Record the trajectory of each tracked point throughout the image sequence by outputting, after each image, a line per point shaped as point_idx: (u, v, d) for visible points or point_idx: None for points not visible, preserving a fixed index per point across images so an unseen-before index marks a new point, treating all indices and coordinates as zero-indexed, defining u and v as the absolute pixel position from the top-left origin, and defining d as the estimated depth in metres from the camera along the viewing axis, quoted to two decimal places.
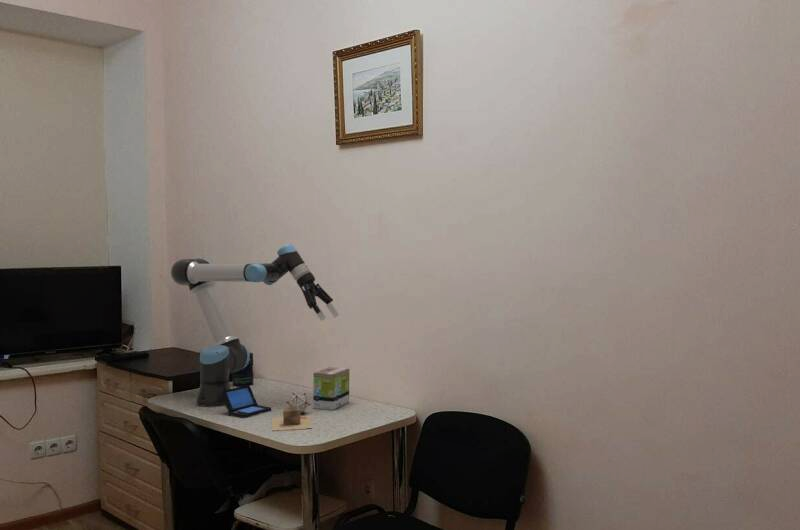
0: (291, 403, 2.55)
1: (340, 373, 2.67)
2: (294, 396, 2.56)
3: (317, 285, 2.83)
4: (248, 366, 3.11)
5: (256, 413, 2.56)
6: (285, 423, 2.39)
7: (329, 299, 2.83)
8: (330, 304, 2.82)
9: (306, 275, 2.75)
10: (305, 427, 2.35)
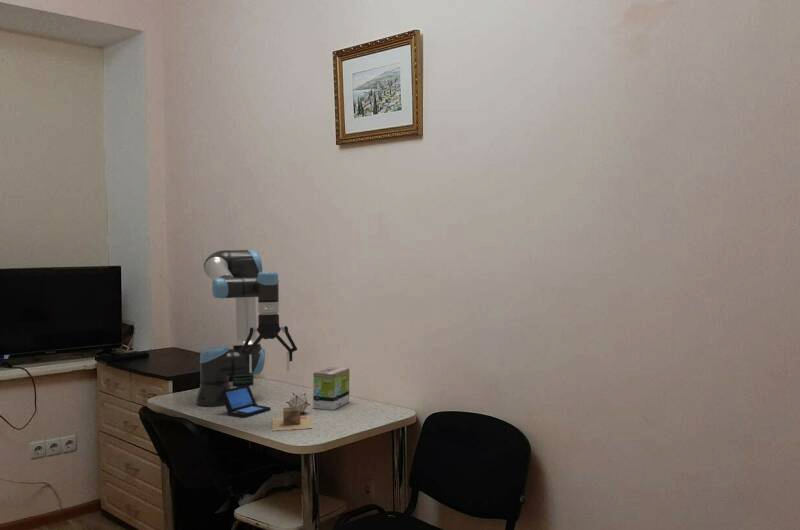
0: (291, 403, 2.55)
1: (340, 373, 2.67)
2: (294, 396, 2.56)
3: (284, 328, 2.42)
4: None
5: (255, 413, 2.56)
6: (285, 423, 2.39)
7: (288, 349, 2.42)
8: (287, 355, 2.42)
9: (261, 318, 2.38)
10: (305, 427, 2.35)
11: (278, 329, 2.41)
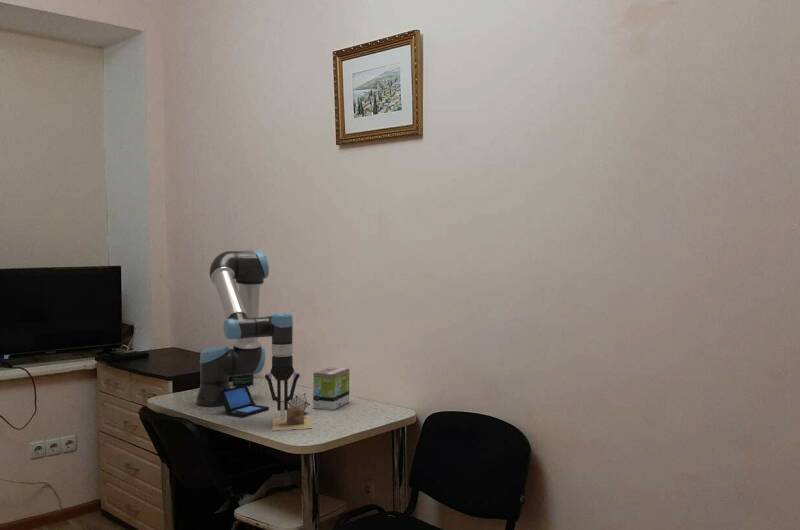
0: (291, 403, 2.55)
1: (340, 373, 2.67)
2: (294, 396, 2.56)
3: (296, 374, 2.41)
4: None
5: (254, 413, 2.57)
6: (289, 423, 2.39)
7: (285, 397, 2.40)
8: None
9: (274, 360, 2.38)
10: (305, 427, 2.35)
11: (291, 371, 2.41)
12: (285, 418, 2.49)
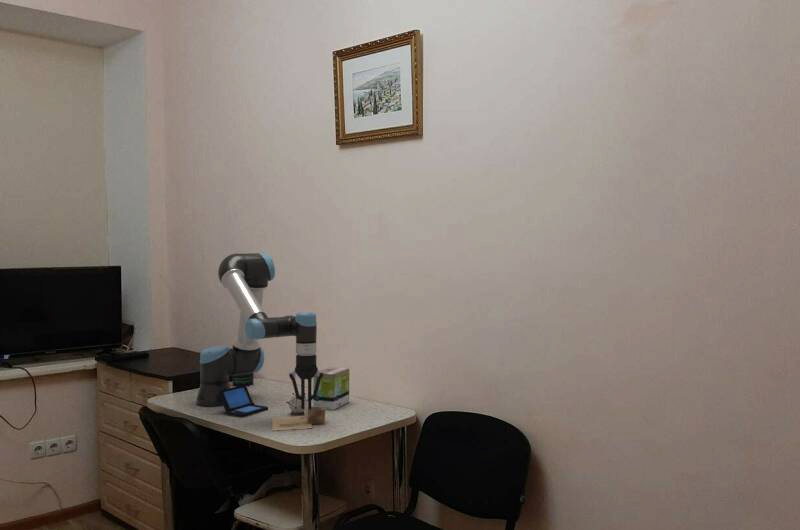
0: (291, 403, 2.55)
1: (340, 373, 2.67)
2: (294, 396, 2.56)
3: (320, 373, 2.43)
4: None
5: (254, 412, 2.57)
6: (310, 422, 2.40)
7: (309, 396, 2.42)
8: None
9: (299, 359, 2.40)
10: (305, 427, 2.35)
11: (315, 370, 2.42)
12: (285, 418, 2.49)
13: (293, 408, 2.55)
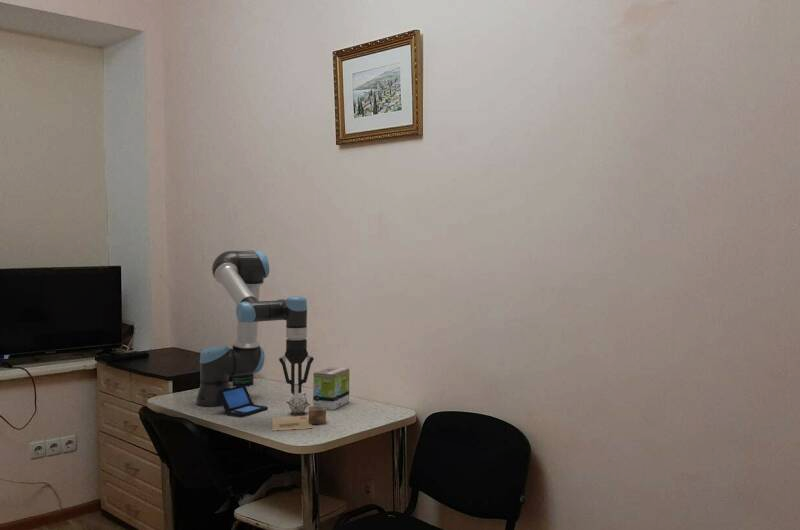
0: (291, 403, 2.55)
1: (340, 373, 2.67)
2: None
3: (310, 358, 2.43)
4: None
5: (253, 412, 2.57)
6: (311, 422, 2.40)
7: (299, 380, 2.42)
8: None
9: (289, 343, 2.39)
10: (305, 427, 2.35)
11: (305, 354, 2.42)
12: (285, 418, 2.49)
13: (293, 408, 2.55)
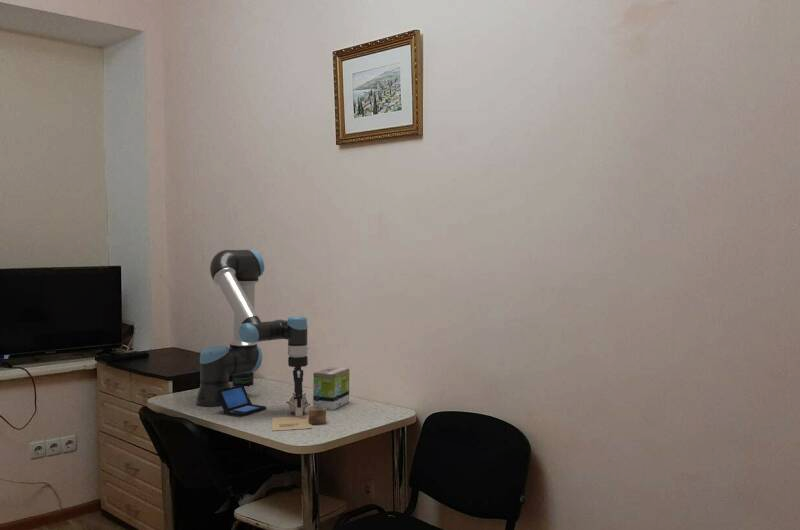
0: (291, 403, 2.55)
1: (340, 373, 2.67)
2: (294, 396, 2.56)
3: None
4: None
5: (252, 412, 2.58)
6: (311, 422, 2.40)
7: None
8: None
9: (305, 360, 2.55)
10: (305, 427, 2.35)
11: None
12: (285, 418, 2.49)
13: (293, 408, 2.55)
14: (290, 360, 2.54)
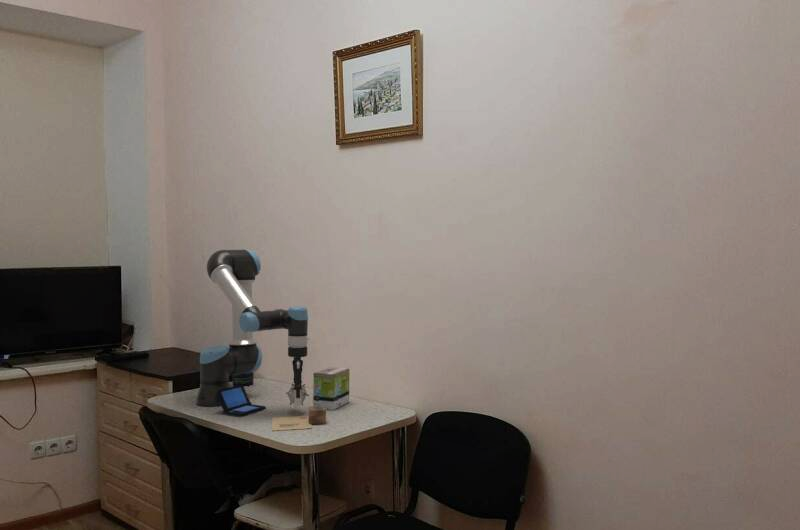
0: (290, 394, 2.55)
1: (340, 373, 2.67)
2: (293, 387, 2.57)
3: None
4: None
5: (252, 412, 2.58)
6: (311, 422, 2.40)
7: None
8: None
9: (304, 350, 2.55)
10: (305, 427, 2.35)
11: None
12: (285, 418, 2.49)
13: (292, 399, 2.55)
14: (290, 350, 2.54)
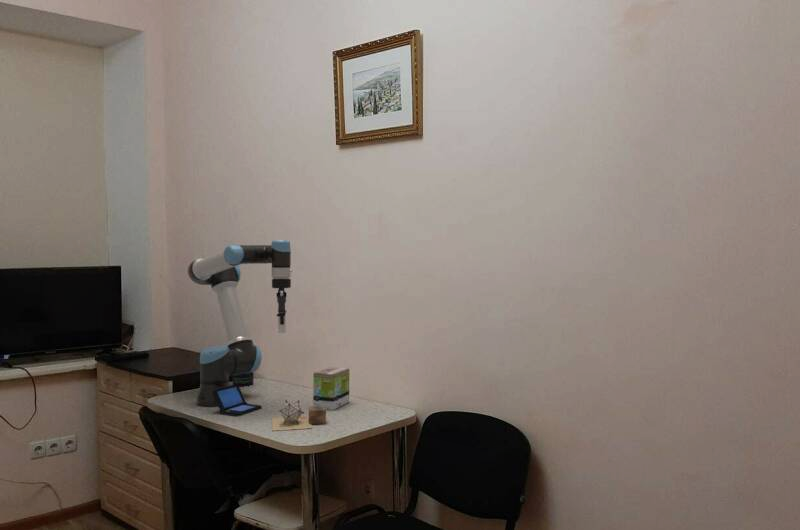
0: (284, 411, 2.40)
1: (340, 373, 2.67)
2: (287, 404, 2.42)
3: (283, 291, 2.70)
4: None
5: (248, 411, 2.59)
6: (311, 422, 2.40)
7: None
8: None
9: (288, 281, 2.62)
10: (305, 427, 2.35)
11: None
12: None
13: (286, 417, 2.40)
14: (273, 281, 2.62)
